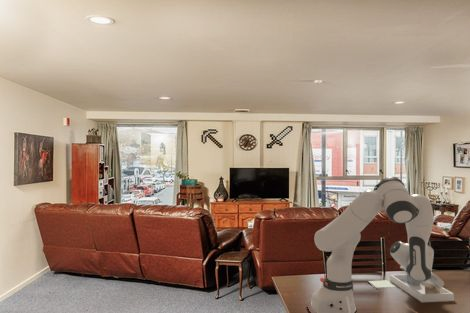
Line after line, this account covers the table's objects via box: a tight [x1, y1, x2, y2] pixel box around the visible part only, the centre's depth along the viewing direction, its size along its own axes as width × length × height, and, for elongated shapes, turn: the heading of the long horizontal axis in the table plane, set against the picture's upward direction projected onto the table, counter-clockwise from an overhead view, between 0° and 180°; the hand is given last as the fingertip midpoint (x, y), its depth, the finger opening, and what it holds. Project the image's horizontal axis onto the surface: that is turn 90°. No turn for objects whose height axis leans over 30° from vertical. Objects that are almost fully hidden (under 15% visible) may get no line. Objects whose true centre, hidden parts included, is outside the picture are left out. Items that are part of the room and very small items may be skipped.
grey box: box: [406, 272, 420, 286], centre depth 177 cm, size 4×4×7 cm
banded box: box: [425, 282, 440, 294], centre depth 161 cm, size 5×5×9 cm
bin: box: [389, 273, 455, 303], centre depth 168 cm, size 16×29×4 cm, turn 2°
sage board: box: [367, 279, 397, 290], centre depth 179 cm, size 11×10×1 cm
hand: (433, 285), depth 161 cm, fingers closed on banded box, 4 cm apart
